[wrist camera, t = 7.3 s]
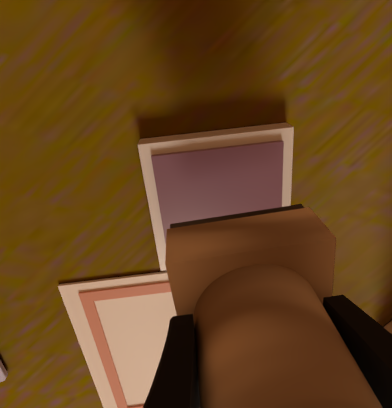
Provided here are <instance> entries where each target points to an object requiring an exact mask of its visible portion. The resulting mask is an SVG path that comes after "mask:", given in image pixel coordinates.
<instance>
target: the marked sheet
mask: <svg viewBox="0 0 392 408" xmlns="http://www.w3.org/2000/svg"><path fill="white" fill-rule="evenodd" d="M58 288H59V291H60V293H61V296H62V299H63V301H64V304H65V307H66V309H67V312H68V315H69V317H70V320H71V322H72V325H73V328H74V330H75V333H76V336H77V338H78V341H79V344H80V346H81V349H82V352H83V354H84V357H85V360H86V362H87V365H88V368H89V370H90V373H91V375H92V378H93V381H94V383H95V386H96V389H97V391H98V394H99V397H100V399H101V402H102V405H103V407H104V408H143V406H144V403H145V401H146V398H147V396H148V393H149V391H150V388H151V385H152V382H153V380H154V377H155V374H156V371H157V368H158V365H159V362H160V359H161V355H162V352H163V349H164V345H165V341H166V337H167V333H168V328H169V322H170V319H171V318H172V317H173V316H177V314H176V310H175V305H174V301H173V297H172V292H171V288H170V283H169V279H168V275H167V271H164V272H156V273H147V274H139V275H131V276H123V277H114V278H106V279H98V280H90V281H81V282H73V283H65V284H59V285H58Z"/></svg>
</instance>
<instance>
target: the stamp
mask: <svg viewBox="0 0 392 408" xmlns="http://www.w3.org/2000/svg"><path fill="white" fill-rule="evenodd" d="M335 249H336V237H335V236H334V235H333V234H332V233H331V232H330V230H329V229H328V228H327V227H326V226H325V225H324V223H323V222H322V221H321V220H320V219H319V218H318V217H317V215H316V214H315V213H314V212H313V211H312V210H311V209H310V207H308V208H304V207H303V206H302V204H298V205H291V206H285V207H278V208H272V209H265V210H258V211H252V212H245V213H239V214H232V215H226V216H219V217H213V218H206V219H200V220H193V221H186V222H180V223H173V224H170V229H167V234H166V256H165V266H166V270H167V275H168V279H169V283H170V288H171V292H172V297H173V301H174V305H175V310H176V314H177V316H179V315H187V314H193V319H194V326H195V337H196V350H197V370H198V384H199V398H200V408H383V407H382V406H381V404H380V402H379V401H378V399H377V397H376V395H375V394H374V392H373V390H372V389H371V387H370V385H369V383H368V382H367V380H366V378H365V377H364V375H363V373H362V372H361V370H360V368H359V366H358V365H357V363H356V361H355V360H354V358H353V356H352V355H351V353H350V351H349V349H348V348H347V346H346V344H345V343H344V341H343V339H342V337H341V336H340V334H339V332H338V331H337V329H336V327H335V326H334V324H333V322H332V320H331V319H330V317H329V315H328V314H327V312H326V310H325V308H324V307H323V298H324V297H331V296H332V291H333V277H334V263H335Z"/></svg>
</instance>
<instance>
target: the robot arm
mask: <svg viewBox="0 0 392 408" xmlns="http://www.w3.org/2000/svg"><path fill="white" fill-rule="evenodd" d="M323 307H324V308H325V310H326V312H327V314H328V315H329V317H330V319H331V320H332V322H333V324H334V326H335V327H336V329H337V331H338V332H339V334H340V336H341V337H342V339H343V341H344V343H345V344H346V346H347V348H348V349H349V351H350V353H351V355H352V356H353V358H354V360H355V361H356V363H357V365H358V366H359V368H360V370H361V372H362V373H363V375H364V377H365V378H366V380H367V382H368V383H369V385H370V387H371V389H372V390H373V392H374V394H375V395H376V397H377V399H378V401H379V402H380V404H381V406H382V407H383V408H392V334H391V333H390V332H389V331H387V330H386V329H385V328H384V327H382V326H381V325H380V324H379V323H377V322H376V321H375V320H374V319H372V318H371V317H370V316H369V315H367V314H366V313H365V312H364V311H362V310H361V309H360V308H359V307H358V306H356V305H355V304H354V303H353V302H351V301H350V300H349V299H348V298H346V297H345V296H344V295H339V296H331V297H324V298H323ZM7 375H8V373H7V371H6V369H5V368H4V366H3V364H2V362H1V360H0V382H2V381H4V380H6V378H7ZM143 408H200V398H199V384H198V370H197V350H196V337H195V326H194V319H193V314H187V315H179V316H173V317H172V318H171V319H170V322H169V328H168V333H167V337H166V341H165V345H164V349H163V352H162V355H161V359H160V362H159V365H158V368H157V371H156V374H155V377H154V380H153V382H152V385H151V388H150V391H149V393H148V396H147V398H146V401H145V403H144V406H143Z"/></svg>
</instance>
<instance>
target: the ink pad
mask: <svg viewBox="0 0 392 408" xmlns="http://www.w3.org/2000/svg"><path fill="white" fill-rule="evenodd" d="M293 133H294V127H293V126H291V125H289V124H288V123H286V122H285V123H276V124H268V125H259V126H250V127H241V128H232V129H224V130H215V131H206V132H197V133H188V134H179V135H171V136H162V137H153V138H144V139H140V140H139V143H138V149H139V155H140V160H141V166H142V171H143V176H144V182H145V187H146V193H147V198H148V204H149V209H150V215H151V220H152V225H153V231H154V236H155V242H156V247H157V253H158V258H159V264H160V269H161V271H164V270H166V266H165V256H166V234H167V229H170V224H173V223H180V222H186V221H193V220H200V219H206V218H213V217H219V216H226V215H232V214H239V213H245V212H252V211H258V210H265V209H272V208H278V207H285V206H290V205H291V181H292V157H293Z"/></svg>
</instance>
